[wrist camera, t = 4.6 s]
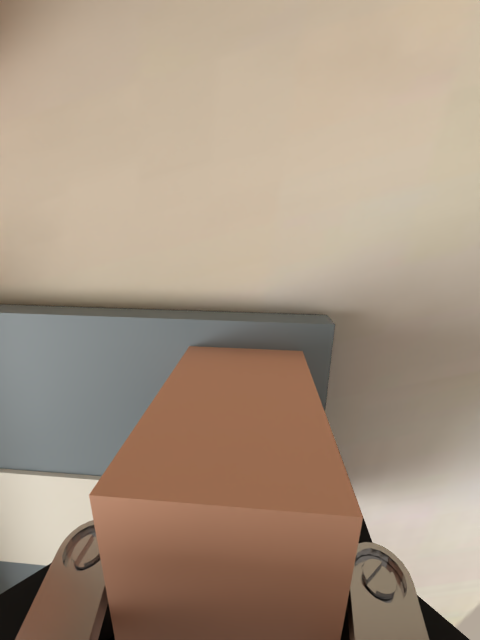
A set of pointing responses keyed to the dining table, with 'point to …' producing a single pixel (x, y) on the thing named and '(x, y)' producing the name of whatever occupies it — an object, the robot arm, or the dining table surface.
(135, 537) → the terracotta block
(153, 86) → the dining table surface
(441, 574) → the dining table surface
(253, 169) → the dining table surface
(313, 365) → the arena board
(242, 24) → the dining table surface
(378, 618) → the robot arm
